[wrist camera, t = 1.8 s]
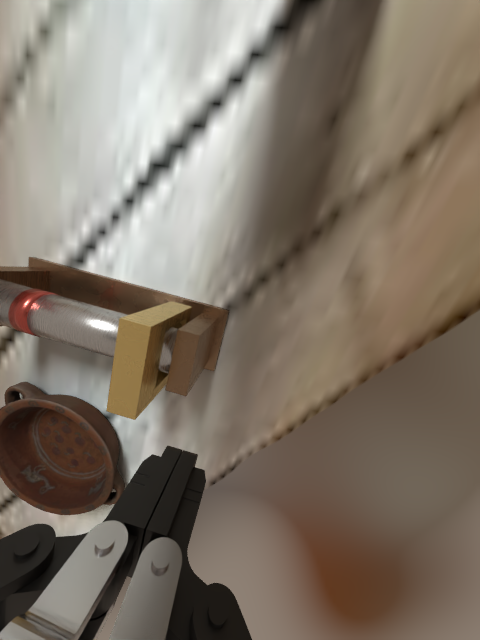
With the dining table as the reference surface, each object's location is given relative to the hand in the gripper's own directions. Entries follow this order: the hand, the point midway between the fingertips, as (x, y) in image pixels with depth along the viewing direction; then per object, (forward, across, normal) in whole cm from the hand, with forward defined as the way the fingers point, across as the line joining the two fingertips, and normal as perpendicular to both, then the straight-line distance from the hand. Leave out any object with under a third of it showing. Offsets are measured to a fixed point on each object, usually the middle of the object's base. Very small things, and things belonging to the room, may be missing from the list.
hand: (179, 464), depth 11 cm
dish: (+20, +20, +21) cm, 35 cm away
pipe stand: (+19, +14, 0) cm, 24 cm away
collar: (+16, +7, 0) cm, 17 cm away
